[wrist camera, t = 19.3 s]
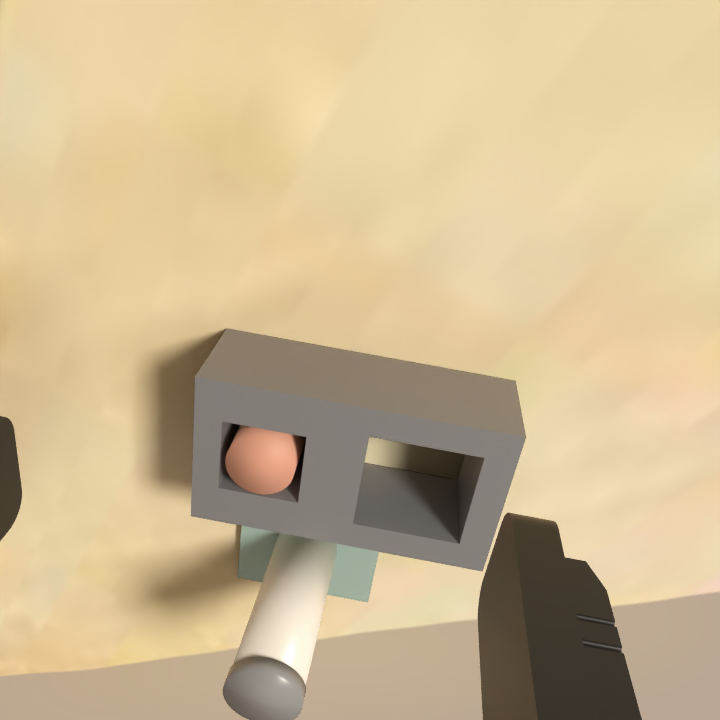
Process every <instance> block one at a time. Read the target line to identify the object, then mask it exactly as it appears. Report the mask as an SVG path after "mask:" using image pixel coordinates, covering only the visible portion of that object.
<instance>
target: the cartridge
mask: <svg viewBox="0 0 720 720" xmlns="http://www.w3.org/2000/svg"><path fill="white" fill-rule="evenodd" d="M336 555H337V544H336V543H330V542H325V541H320V540H315V539H309V538H304V537H299V536H293V535H288V534H283V533H280V534H279V536H278V539H277V542H276V544H275V547H274V550H273V553H272V556H271V559H270V561H269V564H268V567H267V570H266V573H265V576H264V579H263V581H262V584H261V587H260V590H259V593H258V596H257V598H256V601H255V604H254V607H253V610H252V613H251V615H250V618H249V621H248V624H247V627H246V630H245V632H244V635H243V638H242V641H241V644H240V647H239V649H238V653H237V655H236V658H235V661H234V664H233V665H232V666H231V668H230V670H229V673H228V676H227V678H226V681H225V684H224V687H223V696H224V698H225V700H226V702H227V704H228V705H229V706H230V707H231V708H232V709H233V710H234V711H235V712H236V713H238V714H239V715H241V716H243V717H245V718H247V719H249V720H294V719H295V718H296V717H298V715H299V714H300V712H301V710H302V706H303V701H304V697H305V693H306V686H305V685H306V681H307V676H308V673H309V668H310V664H311V660H312V656H313V652H314V648H315V644H316V639H317V635H318V631H319V627H320V623H321V618H322V614H323V610H324V606H325V602H326V597H327V593H328V589H329V585H330V581H331V576H332V572H333V568H334V564H335V560H336Z"/></svg>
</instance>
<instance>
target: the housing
mask: <svg viewBox="0 0 720 720" xmlns="http://www.w3.org/2000/svg"><path fill="white" fill-rule="evenodd" d="M240 425H244V426H249V427H255V428H260V429H266V430H271V431H276V432H282V433H287V434H292V435H298V436H303V437H306V442H304V445H303V448H302V451H301V455H300V458H299V461H298V464H297V467H296V470H295V473H294V477H293V479H292V481H291V483H290V484H289V485H288V486H287V487H286V488H285V489H283V490H282V491H280V492H277V493H274V494H256V493H252V492H250V491H247V490H245V489H243V488H242V487H240V486H239V485H237V484H236V483H235V482H234V481H233V480H232V478H231V477H230V476H229V474H228V472H227V469H226V464H225V459H226V455H227V452H228V450H229V448H230V446H231V444H232V442H233V440H234V437H235V435H236V433H237V431H238V429H239V427H240ZM369 437H374V438H379V439H385V440H390V441H396V442H401V443H406V444H412V445H417V446H423V447H428V448H433V449H439V450H444V451H450V452H455V453H461V454H465V456H464V459H463V463H462V467H461V470H460V474H459V478H458V480H454V479H448V478H443V477H438V476H432V475H427V474H422V473H416V472H411V471H405V470H400V469H395V468H389V467H384V466H379V465H373V464H368V463H364V461H365V455H366V450H367V445H368V439H369ZM525 439H526V435H525V429H524V424H523V418H522V413H521V408H520V402H519V397H518V391H517V386H516V381H513V380H508V379H502V378H496V377H491V376H485V375H480V374H474V373H469V372H463V371H458V370H452V369H447V368H441V367H436V366H430V365H425V364H419V363H414V362H408V361H403V360H397V359H392V358H386V357H381V356H375V355H370V354H364V353H359V352H353V351H348V350H342V349H336V348H331V347H325V346H320V345H314V344H309V343H303V342H298V341H292V340H287V339H281V338H276V337H270V336H265V335H259V334H254V333H248V332H243V331H237V330H232V329H226V330H225V332H224V333H223V335H222V336H221V338H220V339H219V341H218V342H217V344H216V345H215V347H214V349H213V350H212V352H211V353H210V355H209V356H208V358H207V359H206V361H205V362H204V364H203V365H202V367H201V368H200V370H199V371H198V373H197V374H196V376H195V394H194V429H193V464H192V499H191V516H193V517H199V518H204V519H209V520H214V521H220V522H225V523H230V524H236V525H241V526H246V527H251V528H257V529H262V530H267V531H272V532H278V533H283V534H288V535H293V536H299V537H304V538H309V539H315V540H320V541H325V542H330V543H336V544H341V545H346V546H351V547H357V548H362V549H367V550H373V551H378V552H383V553H388V554H394V555H399V556H404V557H409V558H415V559H420V560H425V561H431V562H436V563H441V564H446V565H452V566H457V567H462V568H467V569H473V570H478V571H483V568H484V565H485V562H486V559H487V556H488V553H489V550H490V547H491V544H492V541H493V537H494V534H495V531H496V528H497V525H498V522H499V519H500V516H501V513H502V510H503V507H504V503H505V500H506V497H507V494H508V491H509V488H510V485H511V482H512V479H513V476H514V473H515V469H516V466H517V463H518V460H519V457H520V454H521V451H522V448H523V445H524V442H525Z"/></svg>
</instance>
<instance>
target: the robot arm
mask: <svg viewBox="0 0 720 720" xmlns="http://www.w3.org/2000/svg"><path fill="white" fill-rule="evenodd" d="M21 499H22V488H21V480H20V472H19V464H18V457H17V449H16V441H15V434H14V428H13V424H12V422H11V421H10V420H9V419H8V418H6V417H2V416H0V541H1V539H2V538H3V537H4V536H5V535H6V533H7V532H8V531H9V529H10V528H11V527H12V525H13V523H14V521H15V519H16V517H17V515H18V512H19V509H20V505H21ZM614 623H615V620H614V616H613V612H612V608H611V605H610V601H609V597H608V594H607V590H606V589H605V587H604V586H603V585H602V583H601V582H600V580H599V579H598V578H597V576H596V575H595V574H594V572H593V571H592V569H591V568H590V567H589V565H588V564H587V562H586V561H581V560H575V559H570V558H565V557H564V552H563V548H562V543H561V538H560V534H559V529H558V526H557V524H556V522H554V521H550V520H545V519H539V518H534V517H529V516H523V515H518V514H513V513H507V514H506V515H505V516H504V519H503V521H502V524H501V527H500V530H499V533H498V536H497V539H496V542H495V545H494V548H493V551H492V554H491V557H490V560H489V563H488V566H487V570H486V573H485V576H484V579H483V582H482V586H481V591H480V597H479V606H478V632H479V651H480V668H481V669H480V670H481V690H482V709H483V720H642V719H641V715H640V712H639V708H638V704H637V700H636V697H635V693H634V689H633V686H632V682H631V678H630V675H629V671H628V667H627V664H626V660H625V656H624V654H623V653H622V652H621V648H622V645H621V642H620V638H619V635H618V630H617V627H615V626H614Z"/></svg>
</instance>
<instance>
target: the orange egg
mask: <svg viewBox="0 0 720 720" xmlns="http://www.w3.org/2000/svg"><path fill="white" fill-rule="evenodd" d="M305 439H306V437H303V436H298V435H292V434H287V433H282V432H276V431H271V430H266V429H260V428H255V427H249V426H244V425H240V427H239V429H238V431H237V433H236V435H235V437H234V440H233V442H232V444H231V446H230V448H229V450H228V452H227V455H226V459H225V464H226V469H227V472H228V474H229V476H230V477H231V478H232V480H233V481H234V482H235V483H236V484H237V485H239V486H240V487H242V488H243V489H245V490H247V491H250V492H252V493H256V494H274V493H277V492H280V491H282V490H283V489H285V488H286V487H287V486H288V485H289V484H290V483H291V481H292V479H293V477H294V473H295V470H296V467H297V464H298V461H299V458H300V455H301V451H302V448H303V445H304V442H305Z"/></svg>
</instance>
